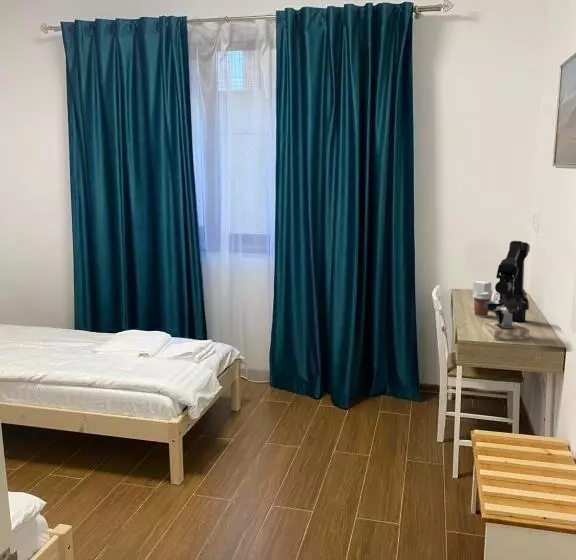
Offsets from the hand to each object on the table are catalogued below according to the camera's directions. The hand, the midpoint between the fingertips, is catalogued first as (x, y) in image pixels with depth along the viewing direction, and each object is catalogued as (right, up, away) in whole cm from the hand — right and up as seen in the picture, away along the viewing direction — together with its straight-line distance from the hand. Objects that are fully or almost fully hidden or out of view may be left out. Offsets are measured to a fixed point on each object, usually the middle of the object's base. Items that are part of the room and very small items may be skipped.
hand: (504, 323), depth 277 cm
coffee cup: (+1, +1, +36) cm, 36 cm away
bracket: (0, -2, 0) cm, 2 cm away
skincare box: (+6, +4, +52) cm, 52 cm away
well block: (0, -5, 0) cm, 5 cm away
